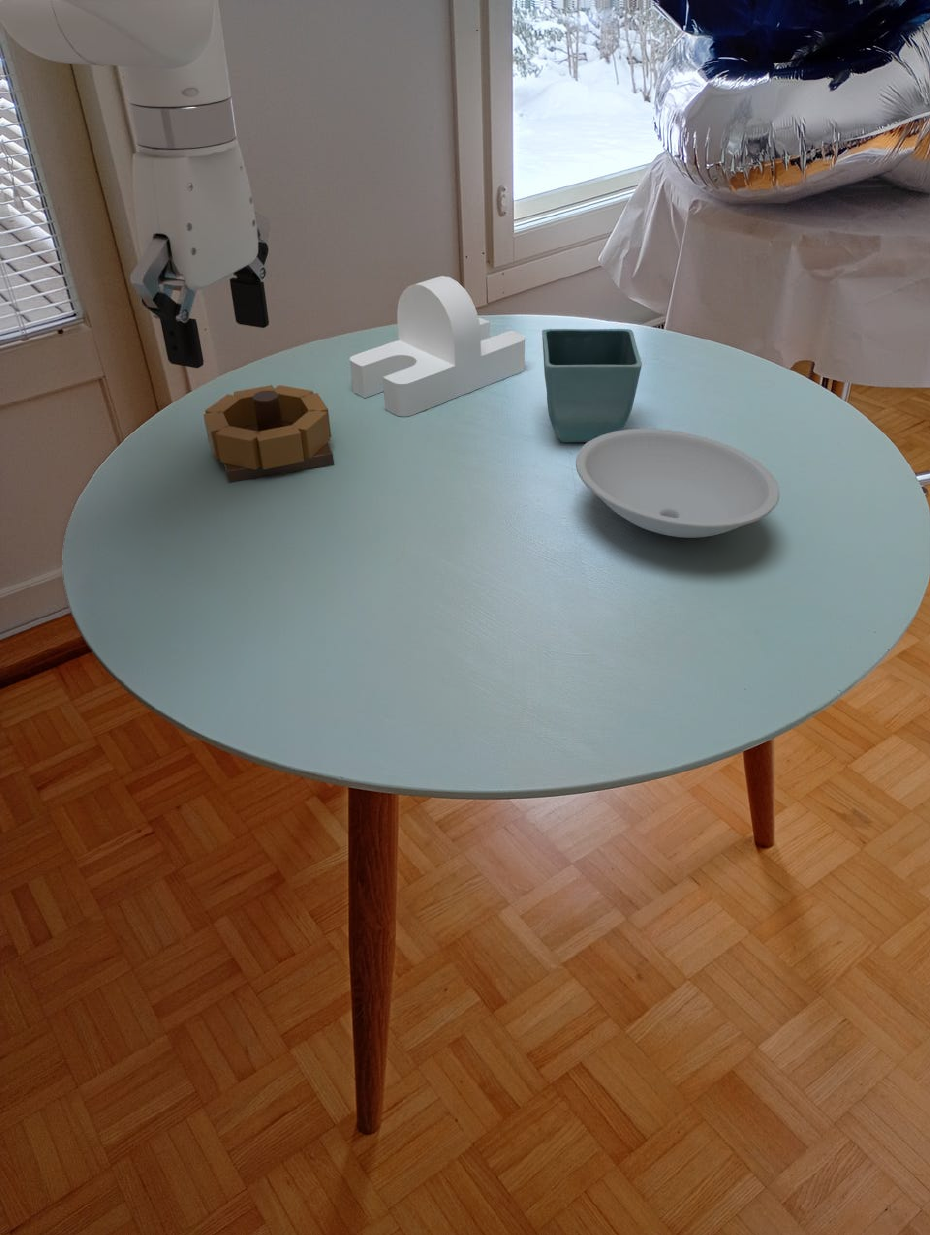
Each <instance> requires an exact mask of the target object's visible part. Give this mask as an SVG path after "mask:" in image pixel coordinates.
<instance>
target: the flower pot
mask: <svg viewBox="0 0 930 1235" xmlns="http://www.w3.org/2000/svg"><path fill="white" fill-rule="evenodd" d="M541 336H542V338H541V340H542V352H543V353H542V354H543V370H544V380H545V387H546V388H545V389H546V402H547V411H548V416H549V420H550V423H551V426H552V429H553V431H554V432H555V435H556V436H557V438H558V439H559V440H560V442H563V443H587V442H589V441H590V440H592V439H594V438H596V437H598V436H601V435H604V434H607V433H611V432H615V431H621V430H623V428H624V427H625V425H626V424H627V421H628V419H629V418H630V415H631V412H632V410H633V406H634V402H635V398H636V393H637V389H638V385H639V380H640V375H641V371H642V366H643V363H642V359H641V356H640V353H639V348H638V346H637V342H636V338H635V334H634V331H633V330H632V329H630V328H546V329H542V330H541Z"/></svg>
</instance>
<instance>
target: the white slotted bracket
mask: <svg viewBox="0 0 930 1235" xmlns="http://www.w3.org/2000/svg"><path fill="white" fill-rule="evenodd" d="M396 318H397V322H396V323H397V336H398V339H397V340H394V341H391V342H387V343H385V344H382V345H379V346H376V347H374V348H370V349H367V350H365V351H363V352H359V353H356V354H353V355H352V356H350V357H349V366H350V376H351V387H352V392H353V393H354V394H356V395H358V396H359V397H361V398H363V399H367V398H370V397H372V396H375V395H378V394H380V393H383V398H384V410H385V411H387V412H389V413H391V414H393V415H395V416H397V417H401V418H405V417H411V416H414V415H417V414H418V413H422V412H425V411H426V410H429V409H432V408H434V407H436V406H439V405H441V404H445V403H446V402H450V401H452V400H454V399H456V398H459V397H461V396H464V395H466V394H469V393H472V392H475V391H477V390H479V389H482V388H485V387H487V386H490V385H492V384H495V383H497V382H499V381H502V380H504V379H507V378H510V377H511V376H515V375H518V374H520V373H521V372H524V371H525V369H526V336H525V335H523V334H521V333H519V332H516V331H514V330H509V331H506V332H503V333H500V334H497V335H494V336H492V337H491V336H490V334H491V332H490V330H491V326H490V325H491V324H490V320H487V319H484V318H482V317H479V315H478V312H477V309H476V307H475V304H474V302H473V300H472V298H471V296H470V295H469V293H468V292H467V290H466V289H465V288H464V287H463V286H462V285H461V284H460V282H458V281H457V280H455V279H453V278H452V277H450V276H444V275H440V276H437V277H433V278H430V279H427V280H423V281H420V282H417V283H414V284H411V285H408V286H407V287H406V288H405V289H404V290H402V293H401V294H400V297H399V298H398V304H397V314H396Z"/></svg>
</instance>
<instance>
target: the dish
mask: <svg viewBox="0 0 930 1235" xmlns="http://www.w3.org/2000/svg"><path fill="white" fill-rule="evenodd" d="M575 468H576V471H577V475H578V476H579V478H580V480H581V482H582V483H583V484H584V485H585V486H586V487H587V488H588V489H589V491H591V492H592V493H593V494H595V495H596V496H597V497H599V499H601V500H602V501H603V503H604V504H605V505H606V506H607V507H608V508H610V509H611V510H612V511H614V513H616V514H617V515H619V516H620V517H622V518H623V519H624V520H626V521H628V522H629V523H632V524H634V525H635V526H637V527H640V528H642V529H644V530H647V531H650V532H652V533H656V534H658V535H664V536H669V537H675V538H685V539H686V538H689V539H693V538H707V537H712V536H718V535H721V534H724V533H728V532H730V531H733V530H735V529H737V528H740V527H742V526H746V525H749V524H751V523H755V522H758V521H759V520H761V519H763V518H765V517H767V516H768V515H769V514H770V513H772V511H773V510H774V509H775V508H776V506H777V505H778V502H779V500H780V489H779V488H780V487H779V485H778V481H777V480H776V478H775V477H774V476H773V474H772V473H771V472H770V471H769V470H768V469H767V468H766V467H765V466H764V465H763V464H762V463H760V462H759V461H757V459H755V458H754V457H752V456H750V455H749V454H747V453H745V452H743V451H742V450H739V449H737V448H735V447H734V446H731V445H728V444H727V443H723V442H721V441H719V440H715V439H712V438H709V437H706V436H702V435H698V434H694V433H689V432H683V431H677V430H672V429H662V428H661V429H659V428H632V429H621V431H615V432H611V433H607V434H604V435H601V436H598V437H596V438H594V439H592V440H590V441H589V442H585V444H583V445H582V446H581V447H580V449H579V451H578V453H577V455H576V457H575Z"/></svg>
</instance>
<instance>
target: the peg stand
mask: <svg viewBox="0 0 930 1235" xmlns="http://www.w3.org/2000/svg"><path fill="white" fill-rule="evenodd" d="M253 402H254V409H255V415H256V421H257V424H254V425H249V426H245V427H244V428H243V429H247V430H252V431H257V432H260V431H265V430H270V429H275V428H280V427H285V426H291V425H293V424H294V423H290V422H285V421H282V417H281V410H280V403H279V396H278V393H277V392H275V391H269V390H268V391H260V392H257V393H256V394H254V395H253ZM334 465H335V458H334V453H333V451H332V448H331V446H330V444H329V442H328V443H327V444H326V445H325V446H324V447H323V448H321V449H320V450H319V451H318V452H317V453H316V454H315V455H314V456H313V457H311V458H305V457H304V461H303V462H298V463H293V464H288V465H283V466H278V467H273V468H269V469H263V468H262V466H260V467H258V468H257V469H256V470H255V469H250V468H246V467H241V466H236V465H231V464H226V463H223V466H224V470H225V473H226V477H227V482H228V483H233V482H240V481H244V480H250V479H256V478H262V477H267V476H275V475H280V474H287V473H292V472H297V471H305V470H310V469H315V468H323V467H327V466H334Z"/></svg>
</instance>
